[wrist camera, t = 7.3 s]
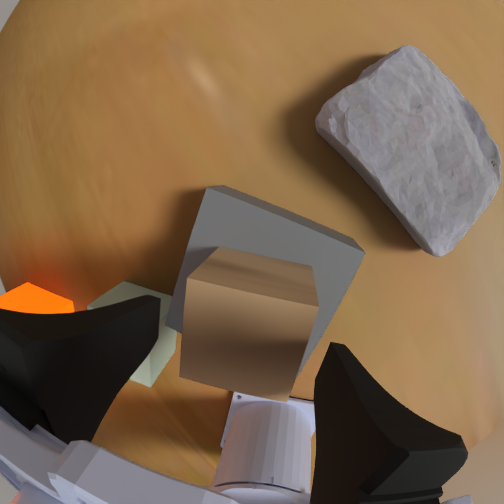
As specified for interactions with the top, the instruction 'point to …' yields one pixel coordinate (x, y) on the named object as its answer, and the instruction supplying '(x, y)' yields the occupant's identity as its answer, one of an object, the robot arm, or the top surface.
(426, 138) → the stone block
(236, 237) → the charcoal block
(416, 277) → the top surface
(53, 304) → the orange juice
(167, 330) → the sage block
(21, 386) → the robot arm
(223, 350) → the walnut block
